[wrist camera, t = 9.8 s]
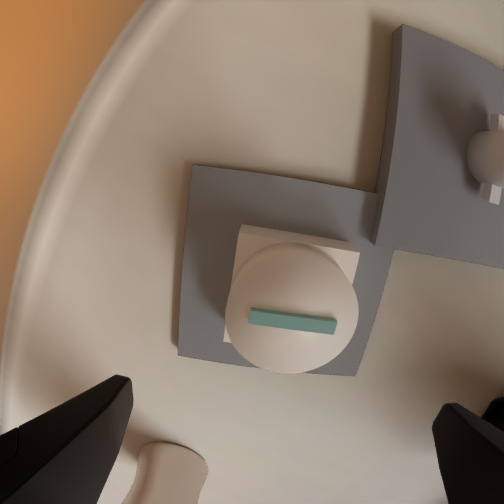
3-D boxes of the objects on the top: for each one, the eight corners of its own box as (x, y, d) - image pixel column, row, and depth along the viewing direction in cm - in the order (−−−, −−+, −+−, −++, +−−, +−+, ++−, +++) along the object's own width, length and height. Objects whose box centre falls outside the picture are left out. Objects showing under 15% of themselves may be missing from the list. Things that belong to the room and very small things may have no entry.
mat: (353, 370, 19) (355, 376, 19) (180, 350, 19) (177, 355, 19) (399, 198, 16) (404, 199, 16) (194, 164, 16) (192, 165, 16)
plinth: (512, 266, 17) (563, 295, 12) (366, 238, 17) (406, 272, 12) (535, 101, 14) (588, 97, 8) (392, 32, 14) (436, -6, 8)
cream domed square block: (349, 242, 16) (376, 268, 12) (325, 336, 18) (339, 382, 14) (241, 224, 16) (233, 246, 12) (227, 323, 18) (217, 368, 14)
